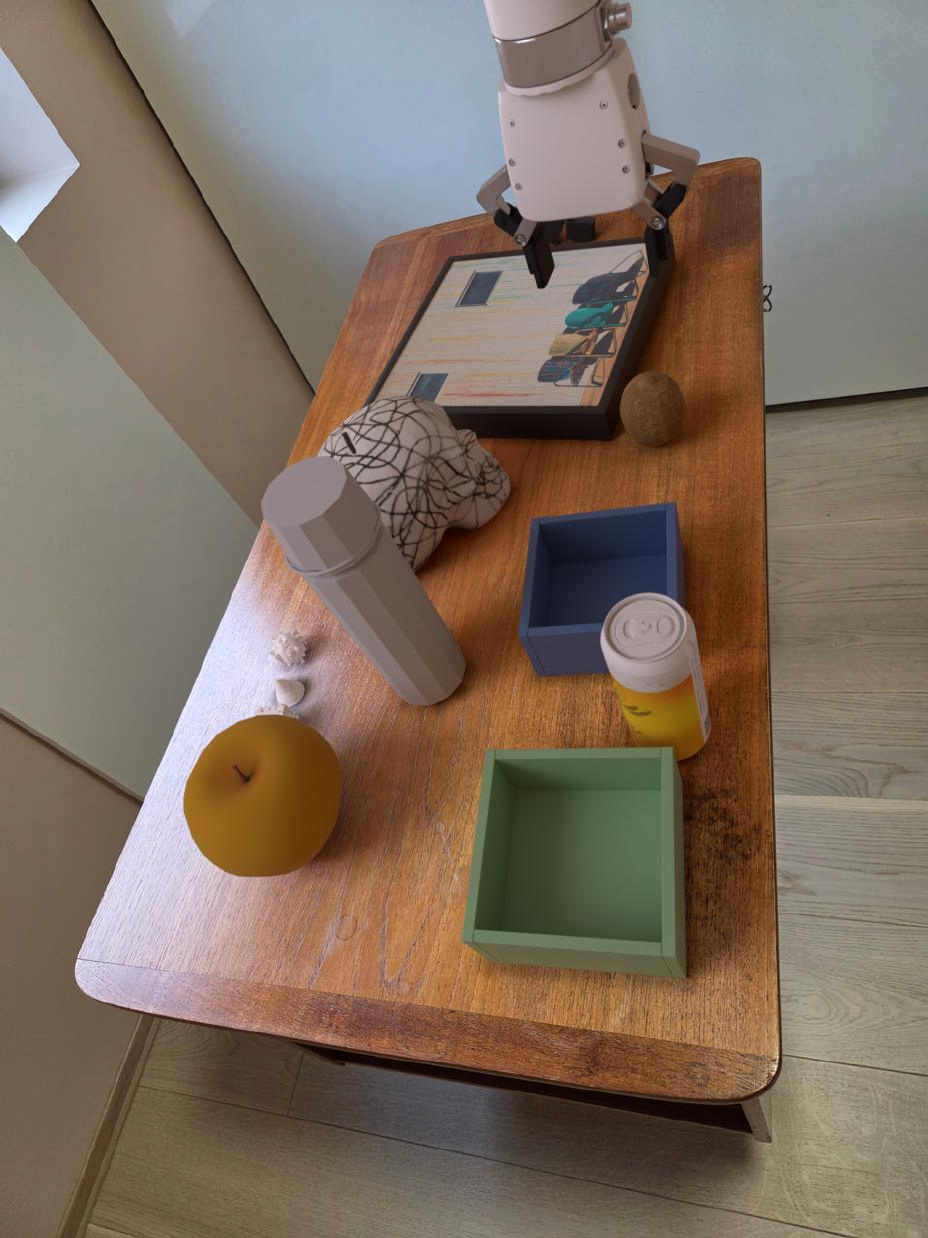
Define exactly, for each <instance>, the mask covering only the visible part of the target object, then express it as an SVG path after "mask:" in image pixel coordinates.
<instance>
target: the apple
mask: <svg viewBox="0 0 928 1238" xmlns="http://www.w3.org/2000/svg"><path fill="white" fill-rule="evenodd" d="M343 785H344V782H343V771H342V767H341V764H340V761H339V759H338V757H337V755H336V753H335V750H334V748H333V746H332V744H331V743H330V742H329V741H328V740H327V739H326V737H324V736H323V735H322V733H320V731H318V730H317V729H316V728H315V727H313V726H311V725H309V724H307V723H305V722H304V721H302V720H298V719H296V718H292V717H288V716H284V715H279V714H273V715H257V716H256V715H254V716H251V717H247V718H245V719H242V720H238V721H237V722H235V723H233V724H231V725H230V726H228V727H226V728H225V729H224V730H222V731H220V732H218V733H217V734H216V735H215V736H214V737H213V738H211V740H210V741H209V742H208V744H207V745H206V746H205V748H203V750H202V751H201V753H200V755H199V757H198V759H197V761H196V763H195V764H194V766H193V768H192V769H191V772H190V774H189V775H188V777H187V779H186V782H185V788H184V791H183V797H182V807H183V809H182V811H183V815H184V818H185V821H186V824H187V827H188V830H189V833H190V837H191V839H192V841H193V842H194V844H195V845H196V847H197V848H198V849H199V851H200V853H201V855H203V856H204V857H205V858H206V859H207V860H208V861H209V862H210V863H212V864H213V865H214V866H215V867H217V868H218V869H219V870H221V871H223V872H225V873H226V874H230V875H233V876H235V877H242V878H266V877H275V876H283V875H287V874H290V873H292V872H295V871H298V870H300V869H302V868H303V867H304V866H305V865H307V864H309V862H311V861H312V860H314V858H315V857H316V856H317V855H318V854H319V853H320V852H321V851H322V850H323V848H324V846H325V845H326V844H327V843H326V842H327V841H328V839H329V838H330V836H331V833H332V832H333V830H334V828H335V825H336V824H337V820H338V817H339V815H340V810H341V802H342V794H343Z"/></svg>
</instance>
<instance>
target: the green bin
mask: <svg viewBox="0 0 928 1238" xmlns="http://www.w3.org/2000/svg"><path fill="white" fill-rule="evenodd" d="M483 761H484V763H483V769H482V777H481V786H480V793H479V799H478V801H479V802H478V809H477V816H476V824H475V830H474V831H475V833H474V839H473V840H474V841H473V848H472V854H471V855H472V856H471V863H470V872H469V879H468V887H467V894H466V895H467V896H466V903H465V910H464V917H463V926H462V933H461V942H463V943H464V944H465V945H467V946H468V947H469V948H471V949H472V950H474V951H475V952H476V953H477V954H478V955H480V956H482V957H483V958H485V959H486V960H487V961H488V962H490V963H495V964H507V965H508V964H509V965H518V966H530V967H531V966H532V967H543V968H555V969H566V970H576V971H577V970H579V971H590V972H600V973H601V972H602V973H613V974H626V975H635V976H636V975H637V976H647V977H650V976H651V977H661V978H670V979H671V978H674V979H687V935H686V934H687V933H686V929H687V928H686V886H685V883H686V882H685V879H686V878H685V837H684V836H685V834H684V832H685V831H684V829H685V827H684V787H683V786H684V785H683V781H682V780H683V779H682V777H681V773H680V769H679V768H680V767H679V764H678V761H676V757H675V753H674V749H673V747H638V746H637V747H576V748H575V747H574V748H573V747H571V748H570V747H569V748H561V747H560V748H503V749H502V748H501V749H499V748H497V749H496V748H493V749H492V748H489V749H488V748H487V749H485V754H484V760H483Z"/></svg>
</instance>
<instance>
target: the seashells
mask: <svg viewBox="0 0 928 1238" xmlns="http://www.w3.org/2000/svg"><path fill="white" fill-rule="evenodd" d="M278 634H279V637H277V638H275V637H273V638H271V641H272V643H273V649H272V650H270V651H269V655H270V656H272V657H273V658H274V659H275V660H276V661H277V662H278V663H280V664H281V665H284V666H286V665H288V666H289V667H292V665H293V664H294V663H296V664H298V663H301V665H303V664H304V663H305V662H306V659H304V658H305V656H306V653H305V652H306V651H307V650H308V648H307V647H306V646H307V645H308V644H307V641H306V639H305V637H304V636H303V635H302V633H301V632H299V631H298V630H297V628H293V629H292V631H291V632H283V631H279V632H278ZM305 645H306V646H305ZM274 689H275V694H276V695H275V696H276V702H277V704H273V705H268V706H264V707H263V706H259V707H258V708H256V709H255V710H254V716H257V715H273V714H279V715H284V716H288V717H292V718H296V719H298V720H300V716H299V714H296V713H295V712H294V711H292V709H291V707H294V706H295V705H297V704H298V703H299V702H300V701H301V700H302V698H303V697H304V694H305V686H304V684H303V682H301V681H299V680H295V679H287V678H281V677H280V678H276V679H275V681H274ZM300 721H301V720H300Z"/></svg>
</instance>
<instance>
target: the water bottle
mask: <svg viewBox="0 0 928 1238" xmlns="http://www.w3.org/2000/svg"><path fill="white" fill-rule="evenodd" d="M267 485H268V486H267V488H266V490H265V492H264V494H263V497H262V498H261V501H260V506H261V513H262V518H263V520H264V521H265V523H266V525H267V527H268V528H269V529H270V531H271V533H272V534H273V536H274V538H275V539H276V542H278V544H279V546H280V548H281V549H282V551H283V553H284V562H285V564H286V566H287V567H288V569H289V570H290V572H291V573H294V574H296V575H299V576H301V577H302V578H303V579H304V581H305V582H306V584H307V585H308V586H309V587H310V588H311V589H312V591H313V593H315V595H316V596H317V597H318V598H319V599H320V601H321V602H322V603H323V605H324V606H325V607H326V608H327V610H328V611H329V612H330V614H332V616H333V617H334V618H335V619H336V621H337V622H338V624H339V625H341V627H342V628H343V630H344V631H345V632H346V633H347V634H348V636H349V637H350V638H351V639H352V641H353V642H354V643H355V645H356V646H357V647H358V648H359V649H360V651H361V652H362V653H363V655H365V656H366V658H367V659H368V661H370V663H371V664H372V665H373V667H374V668H375V669H376V670H377V671H378V673H379V674H380V675H381V677H382V678H383V679H384V680H385V681H386V683H387V684H388V685H389V686H390V687H391V689H392V690H393V691H394V692H395V694H396V696H398V697H400V698H401V699H402V700H404V702H406V703H408V704H409V705H410V706H427V707H428V706H429V707H430V706H433V705H435V704H437V703H439V702H442V701H444V700H446V699H449V697H450V696H451V695H452V694H453V692H455V690H456V689H457V688H458V687H459V686H460V685H461V683H462V682H463V679H464V675H465V670H466V666H467V662H466V660H465V656H464V654H463V652H462V649H461V647H460V645H459V644H458V642H457V641H456V639H455V637H454V636H453V634H452V632H451V631H450V629H449V628H448V626H447V625H446V622H445V621H444V620H443V617H442V616H441V615H440V613H439V612H438V609H437V608H436V607H435V605H434V603H433V602H432V600H431V599H430V597H429V595H428V593H427V592H426V591H425V588H424V587H423V585H422V584H421V582H420V581H419V579H418V577H417V576H416V573H414V572H413V571H412V569H411V568H410V566H409V564H408V563H407V561H406V559H405V558H404V556H403V555H402V553H401V551H400V550H399V548H398V546H397V545H396V543H395V542H394V540H393V538H392V537H391V535H390V533H389V532H388V530H387V529H386V527H385V525H384V524H383V522H382V519H381V511H380V507H379V506H378V505H377V504H376V503H375V502H374V501H373V500H372V499H370V497H369V496H368V495H367V494H366V492H365V491H364V490H363V488H362V487H361V486H360V485H359V483H358V482H357V481H356V480H355V478H354V477H353V476H352V475H351V473H350V472H349V471H348V470H347V468H346V467H345V466H344V464H343V463H341V462H339V461H337V460H335V459H333V458H331V457H329V456H320V457H316V456H313V457H306V458H303V459H302V460H300V461H297V462H296V463H294V464H291V465H290V466H288V467H285V468H284V469H283V470H282V471H281V472H280V473H279V474H278V475H277V476H276V477H275V478H273V480H272V481H270V482H269V484H267Z"/></svg>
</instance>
